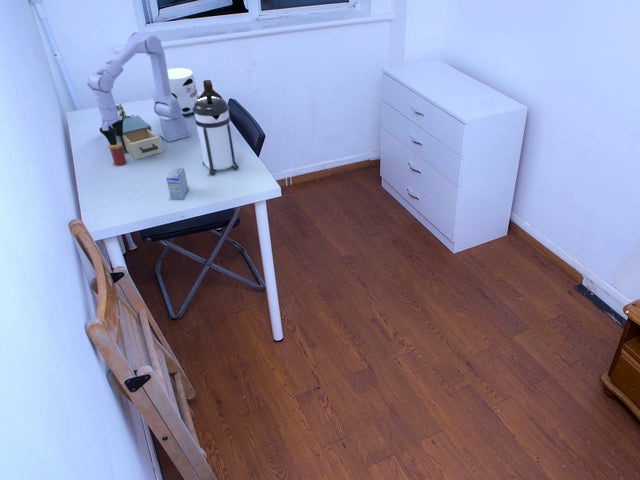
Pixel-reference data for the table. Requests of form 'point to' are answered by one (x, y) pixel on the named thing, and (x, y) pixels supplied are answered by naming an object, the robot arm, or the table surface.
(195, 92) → the milk container
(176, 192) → the medicine box
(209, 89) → the olive oil
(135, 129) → the cabinet
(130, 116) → the passion flower
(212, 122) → the coffee press
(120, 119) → the robot arm
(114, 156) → the tea tin
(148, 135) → the drawer
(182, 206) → the table surface
